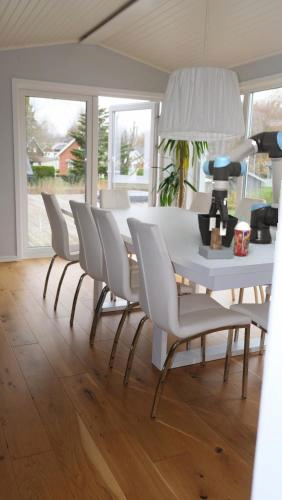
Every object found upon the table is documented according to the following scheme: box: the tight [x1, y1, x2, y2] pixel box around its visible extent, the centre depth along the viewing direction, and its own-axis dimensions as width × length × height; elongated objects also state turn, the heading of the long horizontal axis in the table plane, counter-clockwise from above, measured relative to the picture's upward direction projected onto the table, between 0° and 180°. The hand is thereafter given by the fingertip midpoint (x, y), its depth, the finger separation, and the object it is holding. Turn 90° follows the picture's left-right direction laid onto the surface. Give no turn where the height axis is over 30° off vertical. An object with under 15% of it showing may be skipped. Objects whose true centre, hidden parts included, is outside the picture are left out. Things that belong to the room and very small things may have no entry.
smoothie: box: [233, 215, 251, 257], centre depth 225 cm, size 8×8×20 cm
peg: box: [210, 228, 222, 250], centre depth 221 cm, size 4×4×14 cm
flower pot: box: [197, 213, 239, 248], centre depth 249 cm, size 19×19×17 cm
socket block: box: [197, 245, 234, 260], centre depth 222 cm, size 13×13×4 cm
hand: (217, 232), depth 220 cm, fingers open, 13 cm apart
